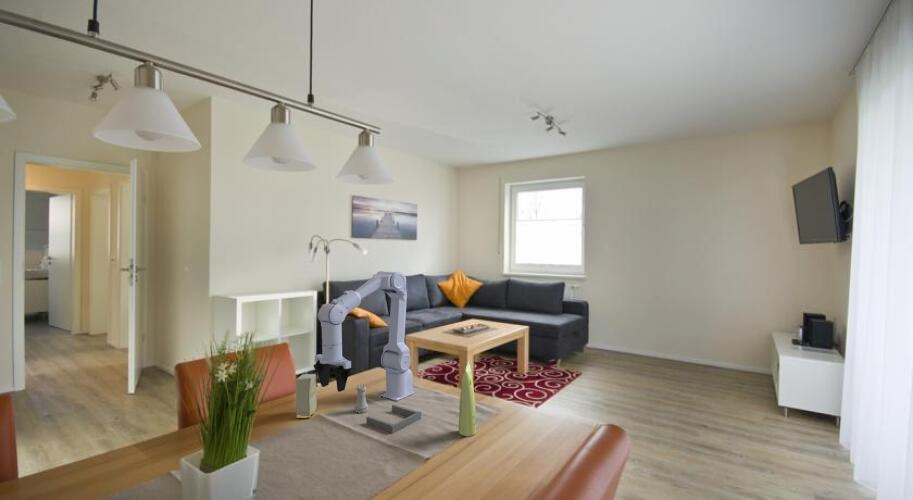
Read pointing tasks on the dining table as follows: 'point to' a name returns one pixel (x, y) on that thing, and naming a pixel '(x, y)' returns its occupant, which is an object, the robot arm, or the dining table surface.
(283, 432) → the dining table surface
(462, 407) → the light green tall cone
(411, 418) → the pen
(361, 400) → the rook chess piece
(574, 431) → the dining table surface
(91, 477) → the dining table surface
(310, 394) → the skincare box
